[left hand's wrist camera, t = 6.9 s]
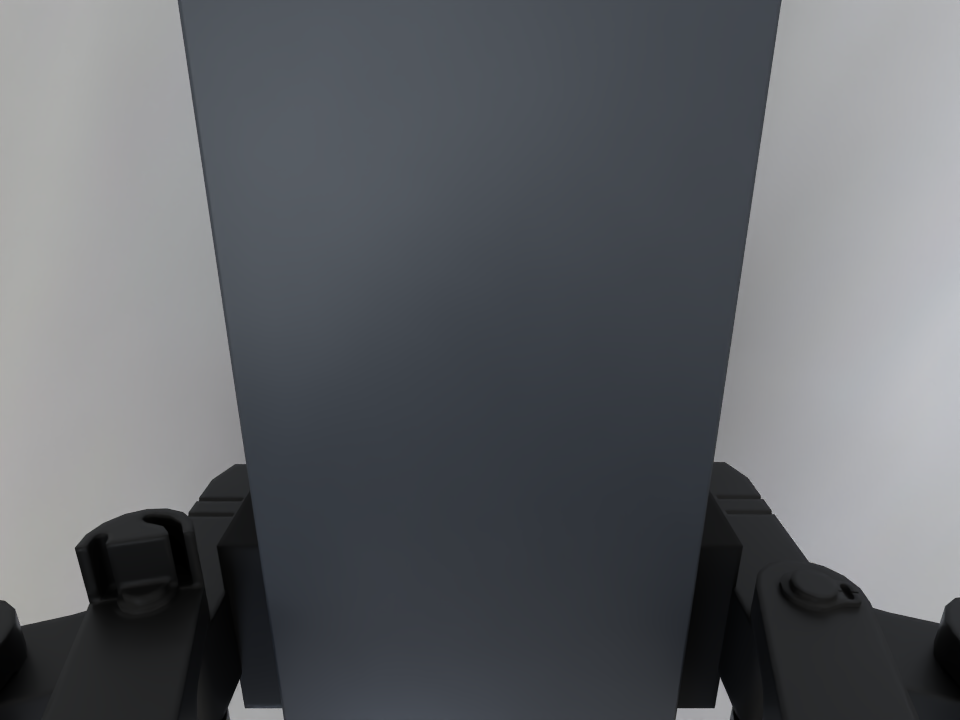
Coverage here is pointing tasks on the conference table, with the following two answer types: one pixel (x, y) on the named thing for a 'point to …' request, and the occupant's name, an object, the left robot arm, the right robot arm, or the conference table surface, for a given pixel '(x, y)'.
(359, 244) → the beam
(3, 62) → the conference table surface
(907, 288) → the conference table surface
